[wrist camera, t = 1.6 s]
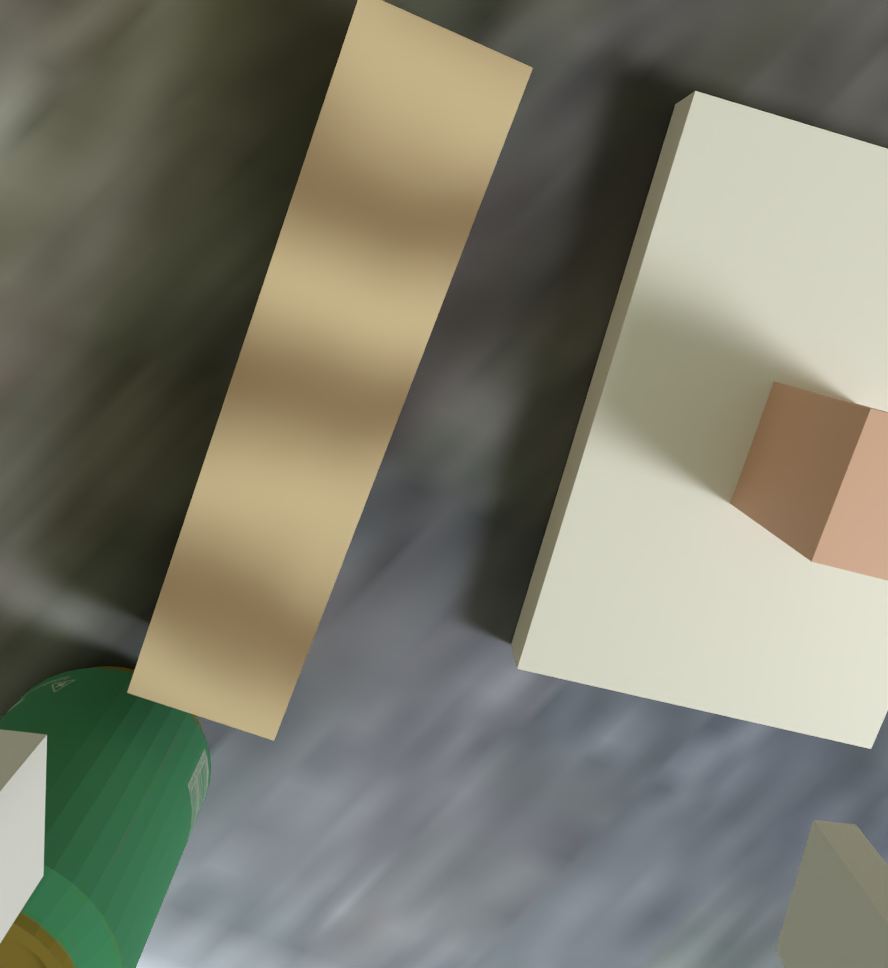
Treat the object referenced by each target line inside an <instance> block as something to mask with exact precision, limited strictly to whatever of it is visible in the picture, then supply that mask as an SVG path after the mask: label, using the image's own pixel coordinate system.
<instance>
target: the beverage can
mask: <svg viewBox="0 0 888 968" xmlns="http://www.w3.org/2000/svg"><path fill="white" fill-rule="evenodd" d="M133 673H134V670H133V669H129V668H124V667H114V666H101V667H92V668H82V669H77V670H72V671H66V672H63V673H60V674H58V675H55V676H52V677H49V678H48V679H46V680H44V681H42V682H40V683H38V684H37V685H35V686H34V687H33V688H31V689H30V690H29V691H27V692H26V693H25V694H24V695H23V696H22V697H21V698H20V699H19V700H18V701H17V702H16V703H15V704H14V705H13V706H12V707H11V708H10V709H9V710H8V712H7V713H6V714H5V715H4V716H3V717H2V718H1V719H0V729H1V730H10V731H19V732H28V733H37V734H46V735H47V757H46V796H45V835H44V873H43V877H42V879H41V880H40V882H39V883H38V885H37V886H36V888H35V890H34V891H33V893H32V894H31V896H30V897H29V899H28V901H27V902H26V904H25V905H24V907H23V908H22V910H21V912H20V913H19V915H18V916H17V918H16V919H15V921H14V923H13V924H12V926H11V927H10V929H9V930H8V932H7V934H6V935H5V937H4V938H3V940H2V941H1V943H0V968H136V966H137V963H138V961H139V958H140V956H141V953H142V951H143V948H144V946H145V944H146V941H147V939H148V936H149V934H150V931H151V929H152V926H153V924H154V922H155V919H156V917H157V914H158V912H159V909H160V907H161V904H162V902H163V899H164V897H165V895H166V892H167V890H168V887H169V885H170V882H171V880H172V877H173V875H174V873H175V870H176V868H177V865H178V863H179V860H180V858H181V855H182V853H183V851H184V848H185V846H186V843H187V841H188V838H189V836H190V833H191V831H192V828H193V826H194V824H195V821H196V819H197V816H198V814H199V811H200V809H201V806H202V804H203V802H204V799H205V797H206V794H207V790H208V786H209V782H210V772H211V762H210V753H209V749H208V746H207V742H206V739H205V736H204V734H203V732H202V729H201V725H200V723H199V721H198V719H197V717H196V715H194V714H191V713H188V712H185V711H181V710H178V709H175V708H172V707H169V706H166V705H163V704H160V703H157V702H154V701H151V700H148V699H145V698H142V697H139V696H136V695H132V694H129V693H127V691H128V688H129V685H130V682H131V679H132V676H133Z"/></svg>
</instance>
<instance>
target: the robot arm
mask: <svg viewBox="0 0 888 968" xmlns="http://www.w3.org/2000/svg"><path fill="white" fill-rule="evenodd" d="M46 757H47V735H46V734H37V733H28V732H19V731H10V730H1V729H0V943H1V941H2V940H3V938H4V937H5V935H6V934H7V932H8V930H9V929H10V927H11V926H12V924H13V923H14V921H15V919H16V918H17V916H18V915H19V913H20V912H21V910H22V908H23V907H24V905H25V904H26V902H27V901H28V899H29V897H30V896H31V894H32V893H33V891H34V890H35V888H36V886H37V885H38V883H39V882H40V880H41V879H42V877H43V873H44V835H45V796H46ZM776 951H777V953H778V955H779V957H780V959H781V961H782V963H783V965H784V967H785V968H888V865H887V864H886V862H885V861H884V860H883V858H882V857H881V856H880V855H879V853H878V852H877V851H876V850H875V848H874V847H873V846H872V845H871V843H870V842H869V841H868V839H867V838H866V837H865V836H864V834H863V833H862V832H861V831H860V829H859V828H858V827H857V825H855V824H846V823H837V822H828V821H819V820H813V823H812V827H811V830H810V834H809V837H808V841H807V844H806V848H805V851H804V854H803V858H802V861H801V865H800V868H799V872H798V875H797V878H796V882H795V885H794V889H793V892H792V896H791V899H790V903H789V906H788V909H787V913H786V916H785V920H784V923H783V927H782V930H781V934H780V937H779V940H778V944H777V947H776Z"/></svg>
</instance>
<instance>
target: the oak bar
mask: <svg viewBox="0 0 888 968" xmlns="http://www.w3.org/2000/svg"><path fill="white" fill-rule="evenodd" d="M532 69H533V68H532V67H530V66H527V65H525V64H523V63H521V62H519V61H516V60H514V59H512V58H510V57H507V56H505V55H503V54H501V53H498V52H496V51H494V50H492V49H489V48H487V47H485V46H483V45H480V44H478V43H476V42H474V41H472V40H469V39H467V38H465V37H463V36H460V35H458V34H456V33H454V32H451V31H449V30H447V29H445V28H442V27H440V26H438V25H436V24H433V23H431V22H429V21H427V20H424V19H422V18H420V17H418V16H416V15H413V14H411V13H409V12H407V11H404V10H402V9H400V8H398V7H395V6H393V5H391V4H389V3H386V2H384V1H382V0H358V1H357V4H356V7H355V10H354V13H353V16H352V19H351V22H350V25H349V28H348V31H347V34H346V37H345V40H344V43H343V46H342V49H341V52H340V55H339V58H338V61H337V64H336V67H335V70H334V73H333V76H332V79H331V82H330V85H329V88H328V91H327V94H326V97H325V100H324V103H323V106H322V109H321V112H320V115H319V118H318V121H317V124H316V127H315V130H314V133H313V136H312V139H311V142H310V145H309V148H308V151H307V154H306V157H305V160H304V163H303V166H302V169H301V172H300V175H299V178H298V181H297V184H296V187H295V190H294V193H293V196H292V199H291V202H290V205H289V208H288V211H287V214H286V217H285V220H284V223H283V226H282V229H281V232H280V235H279V238H278V241H277V244H276V247H275V250H274V253H273V256H272V259H271V262H270V265H269V268H268V271H267V274H266V277H265V280H264V283H263V286H262V289H261V292H260V295H259V298H258V301H257V304H256V307H255V310H254V313H253V316H252V319H251V322H250V325H249V328H248V331H247V334H246V337H245V340H244V343H243V346H242V349H241V352H240V355H239V358H238V361H237V364H236V367H235V370H234V373H233V376H232V379H231V382H230V385H229V388H228V391H227V394H226V397H225V400H224V403H223V406H222V409H221V412H220V415H219V418H218V421H217V424H216V427H215V430H214V433H213V436H212V439H211V442H210V445H209V448H208V451H207V454H206V457H205V460H204V463H203V466H202V469H201V472H200V475H199V478H198V481H197V484H196V487H195V490H194V493H193V496H192V499H191V502H190V505H189V508H188V511H187V514H186V517H185V520H184V523H183V526H182V529H181V532H180V535H179V538H178V541H177V544H176V547H175V550H174V553H173V556H172V559H171V562H170V565H169V568H168V571H167V574H166V577H165V580H164V583H163V586H162V589H161V592H160V595H159V598H158V601H157V604H156V607H155V610H154V613H153V616H152V619H151V622H150V625H149V628H148V631H147V634H146V637H145V640H144V643H143V646H142V649H141V652H140V655H139V658H138V661H137V664H136V667H135V670H134V673H133V676H132V679H131V682H130V685H129V688H128V691H127V693H129V694H132V695H136V696H139V697H142V698H145V699H148V700H151V701H154V702H157V703H160V704H163V705H166V706H169V707H172V708H175V709H178V710H181V711H185V712H188V713H191V714H194V715H197V716H200V717H203V718H206V719H209V720H212V721H215V722H218V723H221V724H224V725H227V726H230V727H234V728H237V729H240V730H243V731H246V732H249V733H252V734H255V735H258V736H261V737H264V738H267V739H270V740H273V741H274V739H275V737H276V734H277V732H278V729H279V726H280V724H281V721H282V719H283V716H284V714H285V711H286V708H287V706H288V703H289V701H290V698H291V695H292V693H293V690H294V688H295V685H296V682H297V680H298V677H299V675H300V672H301V669H302V667H303V664H304V662H305V659H306V656H307V654H308V651H309V649H310V646H311V643H312V641H313V638H314V636H315V633H316V630H317V628H318V625H319V623H320V620H321V617H322V615H323V612H324V610H325V607H326V604H327V602H328V599H329V597H330V594H331V591H332V589H333V586H334V584H335V581H336V578H337V576H338V573H339V571H340V568H341V565H342V563H343V560H344V558H345V555H346V552H347V550H348V547H349V545H350V542H351V539H352V537H353V534H354V532H355V529H356V526H357V524H358V521H359V519H360V516H361V513H362V511H363V508H364V506H365V503H366V500H367V498H368V495H369V493H370V490H371V487H372V485H373V482H374V480H375V477H376V474H377V472H378V469H379V467H380V464H381V461H382V459H383V456H384V454H385V451H386V448H387V446H388V443H389V441H390V438H391V435H392V433H393V430H394V428H395V425H396V422H397V420H398V417H399V415H400V412H401V409H402V407H403V404H404V402H405V399H406V396H407V394H408V391H409V389H410V386H411V383H412V381H413V378H414V376H415V373H416V370H417V368H418V365H419V363H420V360H421V357H422V355H423V352H424V350H425V347H426V344H427V342H428V339H429V337H430V334H431V331H432V329H433V326H434V324H435V321H436V318H437V316H438V313H439V311H440V308H441V305H442V303H443V300H444V298H445V295H446V292H447V290H448V287H449V285H450V282H451V279H452V277H453V274H454V272H455V269H456V266H457V264H458V261H459V259H460V256H461V253H462V251H463V248H464V246H465V243H466V240H467V238H468V235H469V233H470V230H471V227H472V225H473V222H474V220H475V217H476V214H477V212H478V209H479V207H480V204H481V201H482V199H483V196H484V194H485V191H486V188H487V186H488V183H489V181H490V178H491V175H492V173H493V170H494V168H495V165H496V162H497V160H498V157H499V155H500V152H501V149H502V147H503V144H504V142H505V139H506V136H507V134H508V131H509V129H510V126H511V123H512V121H513V118H514V116H515V113H516V110H517V108H518V105H519V103H520V100H521V97H522V95H523V92H524V90H525V87H526V84H527V82H528V79H529V77H530V74H531V71H532Z"/></svg>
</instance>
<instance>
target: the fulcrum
mask: <svg viewBox="0 0 888 968" xmlns="http://www.w3.org/2000/svg"><path fill="white" fill-rule="evenodd" d="M511 646H512V650H513V654H514V658H515V662H516V666H517V669H521V670H525V671H529V672H534V673H538V674H543V675H547V676H552V677H556V678H560V679H565V680H569V681H574V682H578V683H582V684H587V685H591V686H596V687H600V688H604V689H609V690H613V691H618V692H622V693H627V694H631V695H635V696H640V697H644V698H649V699H653V700H657V701H662V702H666V703H671V704H675V705H680V706H684V707H688V708H693V709H697V710H702V711H706V712H710V713H715V714H719V715H724V716H728V717H732V718H737V719H741V720H746V721H750V722H755V723H759V724H763V725H768V726H772V727H777V728H781V729H785V730H790V731H794V732H799V733H803V734H807V735H812V736H816V737H821V738H825V739H830V740H834V741H838V742H843V743H847V744H852V745H856V746H860V747H865V748H869V749H871V748H872V746H873V743H874V741H875V739H876V736H877V734H878V732H879V729H880V727H881V725H882V722H883V720H884V718H885V715H886V713H887V711H888V149H887V148H883V147H880V146H877V145H873V144H870V143H867V142H863V141H860V140H857V139H853V138H850V137H847V136H843V135H840V134H837V133H834V132H830V131H827V130H824V129H820V128H817V127H814V126H810V125H807V124H804V123H800V122H797V121H794V120H790V119H787V118H784V117H780V116H777V115H774V114H771V113H767V112H764V111H761V110H757V109H754V108H751V107H747V106H744V105H741V104H737V103H734V102H731V101H727V100H724V99H721V98H717V97H714V96H711V95H708V94H704V93H701V92H698V91H694V92H693V93H691V94H690V95H688V96H687V97H686V98H684V99H683V100H681V101H680V102H678V103H677V104H675V107H674V110H673V114H672V117H671V120H670V123H669V127H668V130H667V133H666V137H665V140H664V143H663V147H662V150H661V153H660V156H659V160H658V163H657V166H656V170H655V173H654V176H653V179H652V183H651V186H650V189H649V193H648V196H647V199H646V202H645V206H644V209H643V212H642V216H641V219H640V222H639V225H638V229H637V232H636V235H635V239H634V242H633V245H632V249H631V252H630V255H629V258H628V262H627V265H626V268H625V272H624V275H623V278H622V281H621V285H620V288H619V291H618V295H617V298H616V301H615V304H614V308H613V311H612V314H611V318H610V321H609V324H608V328H607V331H606V334H605V337H604V341H603V344H602V347H601V351H600V354H599V357H598V360H597V364H596V367H595V370H594V374H593V377H592V380H591V383H590V387H589V390H588V393H587V397H586V400H585V403H584V407H583V410H582V413H581V416H580V420H579V423H578V426H577V430H576V433H575V436H574V439H573V443H572V446H571V449H570V453H569V456H568V459H567V462H566V466H565V469H564V472H563V476H562V479H561V482H560V485H559V489H558V492H557V495H556V499H555V502H554V505H553V509H552V512H551V515H550V518H549V522H548V525H547V528H546V532H545V535H544V538H543V541H542V545H541V548H540V551H539V555H538V558H537V561H536V564H535V568H534V571H533V574H532V578H531V581H530V584H529V588H528V591H527V594H526V597H525V601H524V604H523V607H522V611H521V614H520V617H519V620H518V624H517V627H516V630H515V634H514V637H513V640H512V643H511Z"/></svg>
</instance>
